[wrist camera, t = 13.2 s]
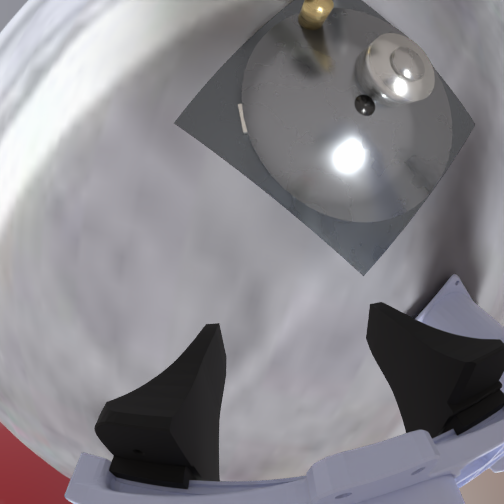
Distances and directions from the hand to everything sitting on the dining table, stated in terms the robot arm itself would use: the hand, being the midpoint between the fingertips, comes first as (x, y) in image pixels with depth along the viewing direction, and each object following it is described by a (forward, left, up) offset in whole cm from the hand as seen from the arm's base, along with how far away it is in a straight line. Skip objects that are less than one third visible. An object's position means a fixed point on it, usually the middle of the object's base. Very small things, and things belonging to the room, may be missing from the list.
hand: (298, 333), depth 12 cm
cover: (+3, -16, -8) cm, 18 cm away
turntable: (+3, -13, -10) cm, 17 cm away
